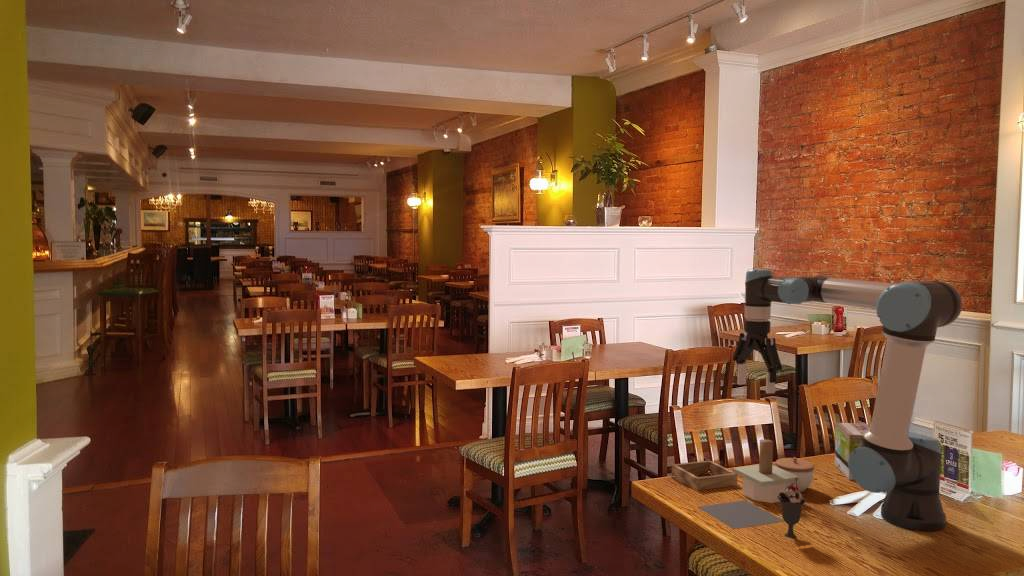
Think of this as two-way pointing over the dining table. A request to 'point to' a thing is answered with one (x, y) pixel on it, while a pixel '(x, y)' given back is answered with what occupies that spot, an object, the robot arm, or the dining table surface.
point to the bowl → (763, 491)
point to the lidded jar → (798, 471)
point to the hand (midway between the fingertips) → (755, 388)
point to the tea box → (847, 443)
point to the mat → (740, 514)
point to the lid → (765, 468)
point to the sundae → (791, 507)
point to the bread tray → (689, 470)
